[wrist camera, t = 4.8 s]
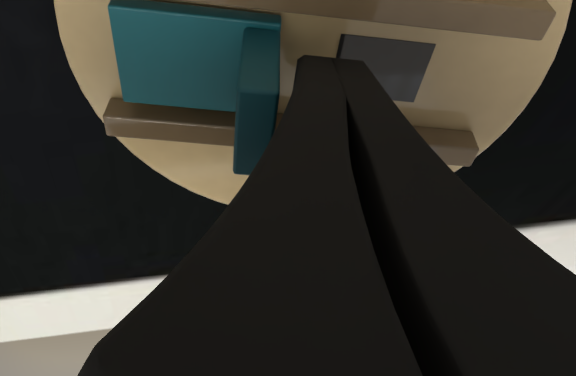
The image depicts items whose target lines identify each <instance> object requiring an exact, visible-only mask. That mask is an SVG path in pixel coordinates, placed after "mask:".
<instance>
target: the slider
mask: <svg viewBox="0 0 576 376" xmlns="http://www.w3.org/2000/svg"><path fill="white" fill-rule="evenodd" d="M108 13H109V19H110V25H111V31H112V37H113V43H114V49H115V55H116V61H117V67H118V73H119V79H120V85H121V91H122V97H123V101H124V102H132V103H143V104H154V105H164V106H175V107H186V108H197V109H208V110H219V111H230V112H236V113H235V133H234V154H233V172H234V174H237V175H250V174H251V172H252V171H253V169H254V168H255V166H256V164H257V163H258V161H259V159H260V158H261V156H262V155H263V153H264V151H265V149H266V147H267V145H268V144H269V142H270V140H271V138H272V136H273V134H274V132H275V127H276V119H277V111H278V104H279V96H280V40H281V35H280V33H281V16H280V15H275V14H266V13H257V12H248V11H239V10H230V9H221V8H212V7H203V6H194V5H185V4H176V3H167V2H158V1H149V0H110V2H109V4H108Z"/></svg>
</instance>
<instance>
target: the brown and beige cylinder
mask: <svg viewBox="0 0 576 376" xmlns="http://www.w3.org/2000/svg"><path fill="white" fill-rule="evenodd" d="M149 1H158V2H167V3H176V4H185V5H194V6H203V7H212V8H221V9H230V10H239V11H248V12H257V13H266V14H275V15H280V16H281V33H280V35H281V40H280V96H279V104H278V111H277V119H276V127H275V130H276V129H277V127H278V125H279V123H280V121H281V118H282V116H283V114H284V111H285V109H286V106H287V104H288V102H289V99H290V97H291V94H292V91H293V85H294V78H295V72H296V65H297V59H299V58H300V57H302V56H303V55H313V56H322V57H332V58H341V59H351V60H361V61H364V62H365V64H366V65H367V66H368V68H369V69H370V70H371V72H372V73H373V75H374V76H375V77H376V79H377V80H378V81H379V83H380V84H381V86H382V87H383V88H384V90H385V91H386V92H387V94H388V95H389V96H390V98H391V99H392V100H393V102H394V103H395V104H396V106H397V107H398V108H399V109H400V111H401V112H402V113H403V115H404V116H405V117H406V118H407V120H408V121H409V122H410V123H411V125H412V126H413V127H414V128H415V129H416V131H417V132H418V133H419V134H420V135H421V137H422V138H423V139H424V140H425V141H426V142H427V144H428V145H429V146H430V147H431V148H432V149H433V150H434V151H435V153H436V154H437V155H438V156H439V157H440V158H441V159H442V160H443V161H444V162H445V163H446V164H447V166H448V167H449V168H450V169H451V170H452V171H453V172H455V171H457V170H458V169H460V168H461V167H463V166H466V167H469V166H471V164H472V163H473V161H474V159H475V157H476V156H478V155H479V154H480V153H481V152H483V151H484V150H485V149H487V148H488V147H489V146H490V145H491V144H492V143H493V142H494V141H495V140H496V139H497V138H498V137H499V136H500V135H501V134H502V133H504V132H505V131H506V130H507V128H508V127H509V126H510V125H511V124H512V123H513V121H514V120H515V119H516V118H517V117H518V116H519V115H520V113H521V112H522V111H523V110H524V108H525V107H526V106H527V104H528V103H529V101H530V100H531V98H532V97H533V95H534V94H535V93H536V91H537V90H538V88H539V87H540V85H541V83H542V81H543V80H544V78H545V76H546V74H547V72H548V70H549V68H550V66H551V64H552V63H553V61H554V59H555V56H556V53H557V51H558V48H559V46H560V43H561V40H562V38H563V35H564V32H565V29H566V25H567V21H568V17H569V13H570V8H571V4H572V0H149ZM109 2H110V0H54V6H55V12H56V17H57V23H58V28H59V34H60V38H61V41H62V44H63V47H64V50H65V53H66V56H67V59H68V62H69V65H70V67H71V70H72V72H73V74H74V76H75V78H76V80H77V82H78V84H79V86H80V88H81V90H82V92H83V94H84V95H85V97H86V98H87V100H88V101H89V103H90V105H91V106H92V108H93V109H94V111H95V112H96V114H97V115H98V116H99V118H100V119H101V120H102V121H103V123H104V125H105V130H106V134H107V135H108V136H115V137H116V138H117V139H118V140H119V141H120V142H121V143H122V144H124V145H125V146H126V147H127V148H128V149H129V150H130V151H131V152H132V153H133V154H134V155H135V156H137V157H138V158H139V159H141V160H142V161H143V162H144V163H146V164H147V165H148V166H149V167H151V168H152V169H154V170H155V171H157V172H158V173H160V174H162V175H163V176H165V177H166V178H168V179H169V180H171V181H173V182H175V183H176V184H178V185H180V186H182V187H184V188H186V189H188V190H190V191H192V192H194V193H197V194H199V195H202V196H204V197H207V198H210V199H212V200H215V201H218V202H221V203H224V204H228V205H229V203H230V202H231V201H232V199H233V198H234V197H235V195H236V194H237V193H238V191H239V190H240V189H241V187H242V186H243V184H244V183H245V181H246V180H247V178H248V177H249V175H237V174H234V172H233V154H234V133H235V113H236V112H230V111H219V110H208V109H197V108H186V107H175V106H164V105H154V104H143V103H132V102H124V101H123V97H122V91H121V85H120V79H119V73H118V67H117V61H116V55H115V49H114V43H113V37H112V31H111V25H110V19H109V13H108V4H109Z"/></svg>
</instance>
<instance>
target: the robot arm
mask: <svg viewBox="0 0 576 376" xmlns="http://www.w3.org/2000/svg"><path fill="white" fill-rule="evenodd" d="M78 376H576V275H575V274H574V273H572V272H571V271H569V270H568V269H567V268H565V267H564V266H563V265H561V264H560V263H558V262H557V261H556V260H554V259H553V258H552V257H550V256H549V255H548V254H547V253H545V252H544V251H543V250H542V249H540V248H539V247H538V246H537V245H535V244H534V243H533V242H531V241H530V240H529V239H528V238H526V237H525V236H524V235H523V234H521V233H520V232H519V231H517V230H516V229H515V228H514V227H513V226H512V225H510V224H509V223H508V222H507V221H506V220H504V219H503V218H502V217H501V216H500V215H499V214H497V213H496V212H495V211H494V210H493V209H492V208H491V207H490V206H489V205H488V204H486V203H485V202H484V201H483V200H482V199H481V198H480V197H479V196H478V195H477V194H476V193H475V192H473V191H472V190H471V189H470V188H469V187H468V186H467V185H466V184H465V183H464V182H463V181H462V180H461V179H460V178H459V177H458V176H457V175H456V174H455V173H454V172H453V171H452V170H451V169H450V168H449V167H448V166H447V164H446V163H445V162H444V161H443V160H442V159H441V158H440V157H439V156H438V155H437V154H436V153H435V151H434V150H433V149H432V148H431V147H430V146H429V145H428V144H427V142H426V141H425V140H424V139H423V138H422V137H421V135H420V134H419V133H418V132H417V131H416V129H415V128H414V127H413V126H412V125H411V123H410V122H409V121H408V120H407V118H406V117H405V116H404V115H403V113H402V112H401V111H400V109H399V108H398V107H397V106H396V104H395V103H394V102H393V100H392V99H391V98H390V96H389V95H388V94H387V92H386V91H385V90H384V88H383V87H382V86H381V84H380V83H379V81H378V80H377V79H376V77H375V76H374V75H373V73H372V72H371V70H370V69H369V68H368V66H367V65H366V64H365V62H364V61H361V60H351V59H341V58H332V57H322V56H313V55H303V56H302V57H300V58H299V59H297V65H296V72H295V78H294V85H293V91H292V94H291V97H290V99H289V102H288V104H287V106H286V109H285V111H284V114H283V116H282V118H281V121H280V123H279V125H278V127H277V129H276V130H275V132H274V134H273V136H272V138H271V140H270V142H269V144H268V145H267V147H266V149H265V151H264V153H263V155H262V156H261V158H260V159H259V161H258V163H257V164H256V166H255V168H254V169H253V171H252V172H251V174H250V175H249V177H248V178H247V180H246V181H245V183H244V184H243V186H242V187H241V189H240V190H239V191H238V193H237V194H236V195H235V197H234V198H233V199H232V201H231V202H230V203H229V205H228V206H227V207H226V209H225V210H224V211H223V213H222V214H221V215H220V217H219V218H218V219H217V220H216V222H215V223H214V224H213V225H212V227H211V228H210V229H209V230H208V231H207V233H206V234H205V235H204V236H203V237H202V238H201V239H200V241H199V242H198V243H197V244H196V245H195V246H194V247H193V248H192V249H191V250H190V252H189V253H188V254H187V255H186V256H185V257H184V258H183V259H182V260H181V261H180V263H179V264H178V265H177V266H176V267H175V268H174V269H173V270H172V271H171V272H170V274H169V275H168V276H167V277H166V278H165V279H164V280H163V281H162V282H161V283H160V284H159V285H158V286H157V287H156V288H155V289H154V290H153V291H152V292H151V293H150V294H149V295H148V296H147V297H146V298H145V299H144V300H142V301H141V302H140V303H139V304H138V305H137V306H136V307H135V308H134V309H133V310H132V311H131V312H130V313H129V314H128V315H127V316H126V317H125V318H123V319H122V320H121V321H120V322H119V323H118V324H117V325H116V326H115V327H114V328H113V329H112V330H111V331H110V332H109V333H108V334H107V335H106V336H105V337H104V338H102V339H101V340H100V341H99V342H98V343H97V344H96V345H95V347H94V348H93V350H92V351H91V353H90V355H89V357H88V358H87V360H86V362H85V363H84V365H83V367H82V369H81V370H80V372H79V374H78Z"/></svg>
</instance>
